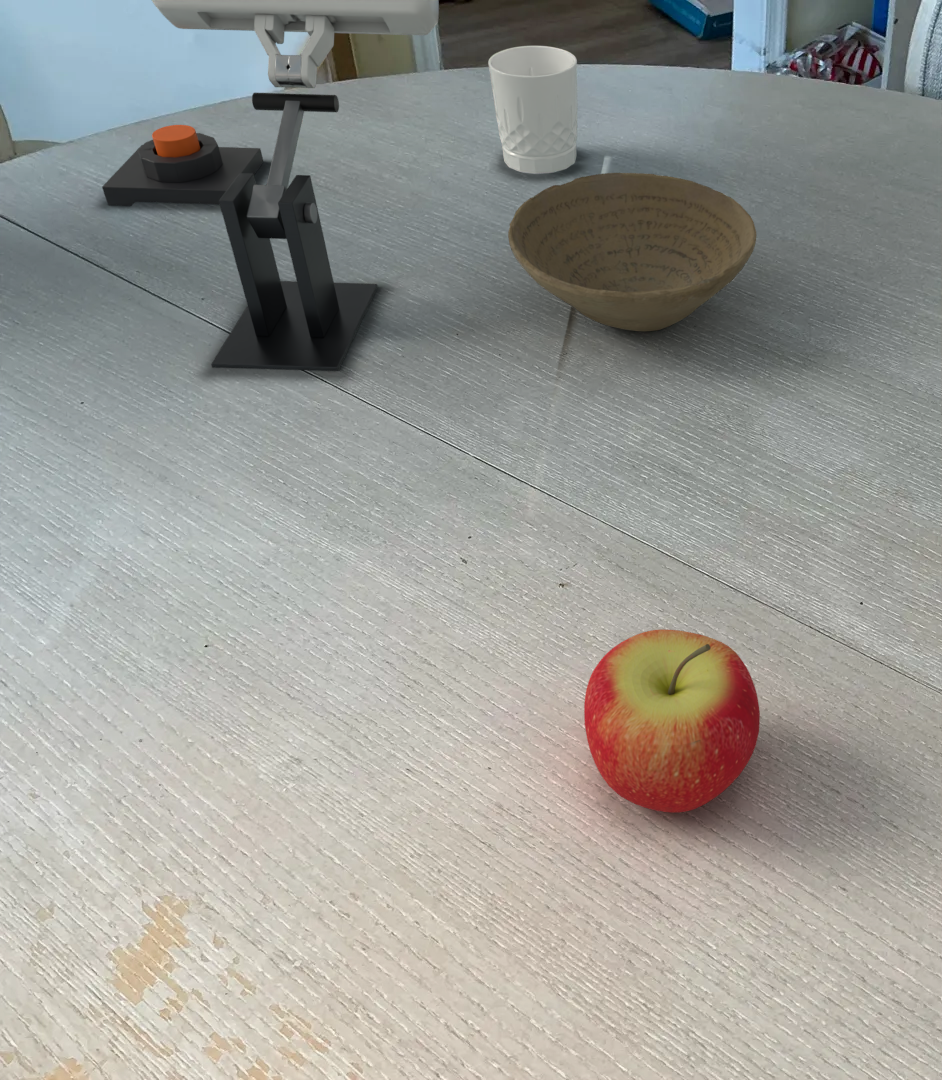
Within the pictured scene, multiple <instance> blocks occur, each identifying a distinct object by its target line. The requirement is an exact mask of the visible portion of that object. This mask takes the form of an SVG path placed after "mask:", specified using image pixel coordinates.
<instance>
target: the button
mask: <svg viewBox="0 0 942 1080" xmlns="http://www.w3.org/2000/svg"><path fill="white" fill-rule="evenodd" d="M196 133H197V131H196V129H195V128H194V127H193V126H191V125H186V124H172V125H166V126H163V127H159V128H157V129H156V130H154V131H153V132H152V133H151V137H152V140H153V141H154V144H155V148H156V151H157V154H158V156H161V157H181V156H187V155H191V154H193V153H195V152H198V151H199V150H200V145H199V141H198V138H197V134H196Z"/></svg>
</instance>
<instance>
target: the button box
mask: <svg viewBox="0 0 942 1080" xmlns="http://www.w3.org/2000/svg"><path fill="white" fill-rule="evenodd" d="M196 134H197V138H198V141H199V145H200V150H199V151H198V152H195V153H193V154H191V155H187V156H181V157H161V156H158V154H157V151H156V148H155V144H154V141H153V139H151V140H147V141H146V142H144V143H143V144H141V145H140V146H139V147H138V148H137V149H136V150H135V151H134V152H133V153H132V155H130V157H128V159H127V160H126V161H125V162H124V163H123V164H122V165H121V166H120V167H119V168H118V170H116V172H114V173H113V175H112V176H111V177H109V179H108V180H107V181H106V182H105V183H104V184H103V185H102V186H101V188H102V191H103V194H104V197H105V200H106V203H107V206H111V207H113V206H114V207H116V206H117V207H132V206H133V205H134V204H135V203H157V204H160V203H161V204H166V203H167V204H189V205H190V204H193V205H196V204H197V205H220V204H219V200H220V199H221V197H222V196H223V195H224V193H225V192H226V191H227V189H228V188H229V187H230V185H231V184H232V183H233V181H234V180H235V179H236V178H237V176H238V175H239V174H240V173H248V174H254V175H256V173H257V172H258V171H259V170H260V167H262V165H263V164H264V162H265V161H264V158H263V154H262V153H263V152H262V149H261V147H233V146H232V147H231V146H219V144H218V142H217V140H216V139H215V137H213V136H211V135H207V134H204V133H201V132H196Z"/></svg>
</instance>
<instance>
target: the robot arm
mask: <svg viewBox="0 0 942 1080" xmlns="http://www.w3.org/2000/svg"><path fill="white" fill-rule="evenodd" d="M439 1H440V0H151V2H152V3H153V5H154V7H155V8H156V9H157V10H158V11H159V13H160V14H161V15H162V17H164V18H165V19H166V20H167V21H168V22H169V23H170V24H171V25H173V26H174V27H175V28H177V29H181V30H205V31H206V30H207V31H209V30H211V31H245V32H246V31H247V32H248V31H249V32H254V33H255V35H256V36H257V39H258V41H259V42H260V44H261V46H262V48H263V50H264V51H265V53H266V55H267V56H268V64H267V76H268V81H269V82H270V84H272V85H273V87H274V88H288V89H289V88H290V89H293V88H294V89H296V88H299V89H300V88H301V89H316V87H317V76H318V67H321V64H322V63H323V62H324V60H325V59H326V57H327V56H328V55H329V53H330V51H331V50H332V49H333V48H334V46H335V34H359V35H392V36H393V35H394V36H395V35H397V36H427V35H429V34H430V33H431V32H432V31H433V29H435V27H436V26H437V24H438V23H439V17H440V9H439V8H440V5H439V4H440V3H439ZM286 32H287V33H307V35H308V36H309V39H308V40H307V42H306V44H305V45H304V47H303V48H302V50H301V52H300V54H281V52H280V50H279V48H278V46H277V45H283V44H284V43H285V33H286Z"/></svg>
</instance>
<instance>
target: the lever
mask: <svg viewBox="0 0 942 1080" xmlns="http://www.w3.org/2000/svg"><path fill="white" fill-rule="evenodd" d="M251 102H252V103H251V104H252V106H253V109H254V110H256V111H273V112H274V111H276V112H277V111H278V112H282V115H281V119H280V125H279V129H278V133H277V137H276V141H275V146H274V150H273V154H272V159H271V163H270V167H269V173H268V177H267V181H266V184H256V185H254V186H253V190H252V194H251V199H250V203H249V207H248V212H247V218H248V220H249V222H250V224H251V226H252V228H253V229H254V231H255V233H256V235H257V237H258V238H270V240H271V239H274V240H287V238H286V234H285V230H284V226H283V222H282V218H281V214H280V209H279V205H278V202H279V200H280V199H281V197H282V196H283V194H284V193H285V191H286V190H287V188H288V187H289V182H290V178H291V174H292V169H293V164H294V160H295V155H296V150H297V145H298V141H299V136H300V132H301V128H302V124H303V119H304V114H305V112H311V113H312V112H313V113H338V112H339V110H340V102H339V98H338V96H337V95H336V94H318V93H317V94H316V93H315V94H314V93H287V92H286V93H282V92H253V93H252V97H251Z"/></svg>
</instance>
